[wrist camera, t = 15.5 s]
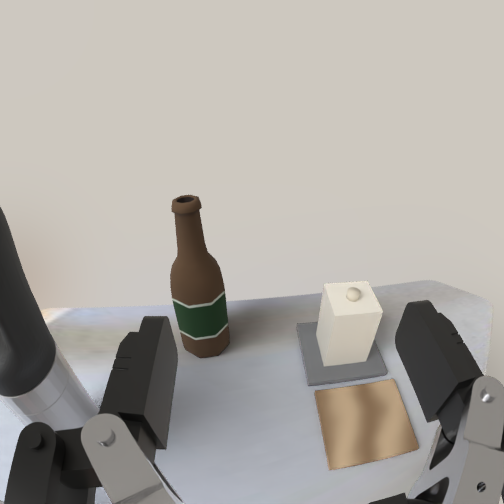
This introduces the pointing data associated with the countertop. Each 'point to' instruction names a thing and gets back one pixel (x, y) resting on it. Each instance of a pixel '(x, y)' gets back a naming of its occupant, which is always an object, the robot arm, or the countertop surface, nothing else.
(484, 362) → the countertop surface
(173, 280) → the beer bottle
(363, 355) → the knobbed cream block
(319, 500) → the countertop surface
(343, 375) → the slate coaster
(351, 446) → the cork mat
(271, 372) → the countertop surface
